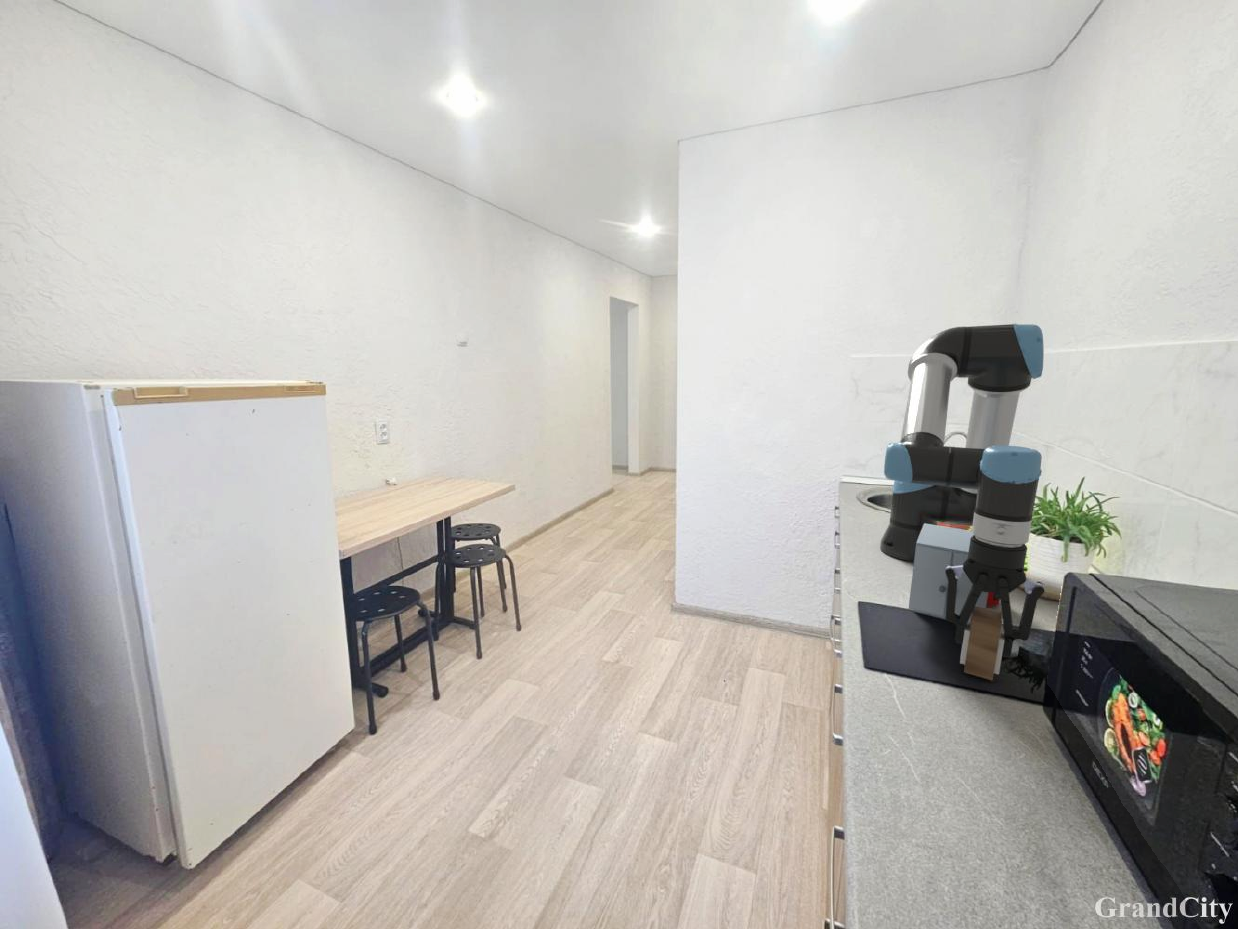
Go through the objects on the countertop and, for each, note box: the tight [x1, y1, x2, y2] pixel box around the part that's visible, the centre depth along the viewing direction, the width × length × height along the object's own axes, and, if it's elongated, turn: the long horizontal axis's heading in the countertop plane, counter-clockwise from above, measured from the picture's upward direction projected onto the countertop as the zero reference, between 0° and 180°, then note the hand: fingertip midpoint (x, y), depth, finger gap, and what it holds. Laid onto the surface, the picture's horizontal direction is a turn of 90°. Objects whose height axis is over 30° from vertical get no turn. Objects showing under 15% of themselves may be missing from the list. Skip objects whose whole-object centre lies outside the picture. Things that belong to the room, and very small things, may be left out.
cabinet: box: [908, 523, 988, 624], centre depth 98 cm, size 15×12×20 cm
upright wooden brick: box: [963, 606, 1003, 682], centre depth 90 cm, size 17×4×11 cm, turn 143°
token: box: [1002, 640, 1020, 658], centre depth 93 cm, size 5×5×2 cm
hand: (979, 664), depth 85 cm, fingers closed on upright wooden brick, 4 cm apart
